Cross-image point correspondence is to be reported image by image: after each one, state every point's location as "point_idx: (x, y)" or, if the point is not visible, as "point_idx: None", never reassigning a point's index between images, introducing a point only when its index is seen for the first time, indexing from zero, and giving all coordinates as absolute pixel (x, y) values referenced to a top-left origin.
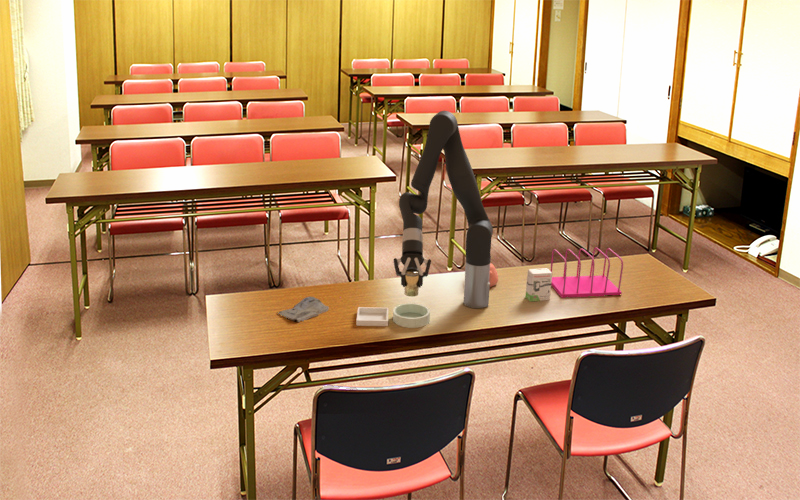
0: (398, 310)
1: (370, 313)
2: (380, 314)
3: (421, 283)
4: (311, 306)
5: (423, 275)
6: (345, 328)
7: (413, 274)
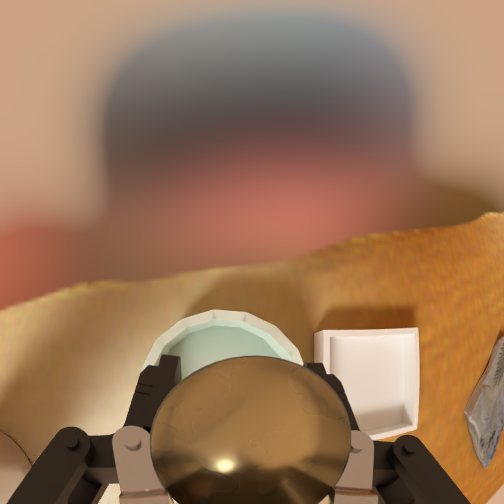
0: None
1: (372, 425)
2: None
3: (152, 373)
4: (493, 410)
5: (113, 436)
6: (426, 318)
7: (243, 357)
